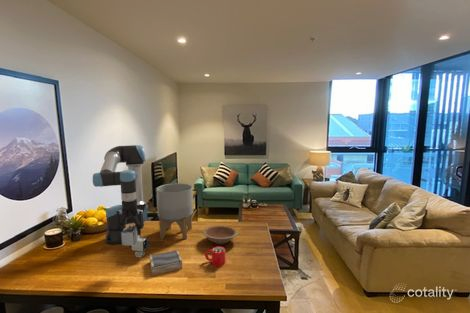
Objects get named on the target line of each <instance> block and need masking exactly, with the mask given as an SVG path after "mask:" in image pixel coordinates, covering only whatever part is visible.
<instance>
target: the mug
mask: <svg viewBox="0 0 470 313" xmlns="http://www.w3.org/2000/svg"><path fill="white" fill-rule="evenodd" d="M209 253H211V257H209V256H208V254H209ZM204 256H205V260H207V261H209V262H211V264H212V265H213V266H215V267H222V266H224V265H225V264H226V248H225V247H223V246H215V247H213V248H212V249H208V250H206V251H205V253H204Z"/></svg>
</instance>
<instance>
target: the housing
mask: <svg viewBox="0 0 470 313" xmlns="http://www.w3.org/2000/svg"><path fill="white" fill-rule="evenodd" d="M136 229H137V228H136V226H135V224H128V226H126V229H125V230H124V231H123V232H122V233H121V236H122V243H121V246H129V245H134V244H135V243H136ZM141 234H142V233H141ZM141 234H140V235H139V238H140V237H142V236H141Z"/></svg>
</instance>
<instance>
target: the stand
mask: <svg viewBox="0 0 470 313" xmlns="http://www.w3.org/2000/svg"><path fill="white" fill-rule="evenodd" d="M149 265H150V270H151V275H152V276H156V275H160V274H164V273H169V272H173V271H177V270H182V269H183V260H182V257H181V254H180V253H179V249H178V248H176V249H175V250H171V251H167V252H161V253H156V254H151V253H150V254H149Z"/></svg>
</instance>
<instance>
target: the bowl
mask: <svg viewBox="0 0 470 313" xmlns="http://www.w3.org/2000/svg"><path fill="white" fill-rule="evenodd" d="M202 234H203V236H204V237H206V238H207V239H208V240H209V241H210V242H212V243H214V244H216V245H222V244H227V243H228V242H230V241H232V240H233V239H234V238H235V237H236V236H238V234H239V231H238V230H237V229H236V228H234V227H232V226H227V225H223V224H222V225H211V226H208V227H205V228H204V229H203V230H202Z"/></svg>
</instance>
